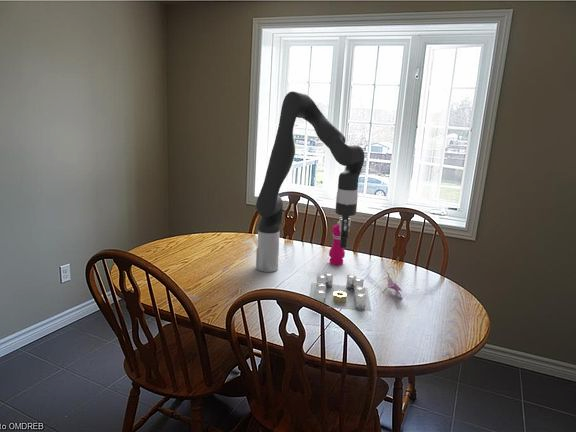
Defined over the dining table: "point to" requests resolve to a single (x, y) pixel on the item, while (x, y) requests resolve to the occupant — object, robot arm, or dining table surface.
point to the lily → (392, 284)
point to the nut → (339, 297)
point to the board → (346, 305)
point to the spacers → (351, 284)
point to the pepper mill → (336, 247)
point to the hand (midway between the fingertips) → (342, 246)
